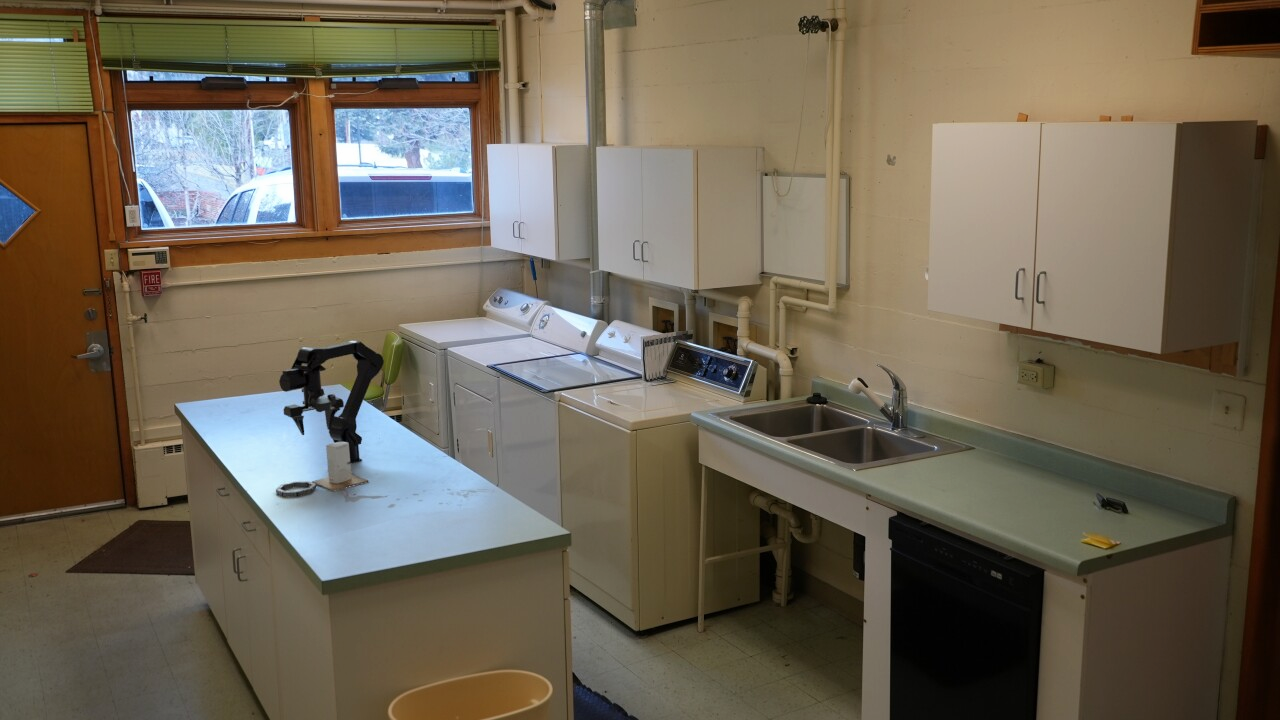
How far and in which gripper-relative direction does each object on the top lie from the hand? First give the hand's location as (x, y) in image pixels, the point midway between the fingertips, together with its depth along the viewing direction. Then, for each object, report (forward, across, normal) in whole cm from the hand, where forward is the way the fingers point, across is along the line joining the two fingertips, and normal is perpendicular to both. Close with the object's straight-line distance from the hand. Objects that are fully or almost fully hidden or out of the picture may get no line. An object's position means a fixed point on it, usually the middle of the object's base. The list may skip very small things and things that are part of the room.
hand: (316, 432), depth 364 cm
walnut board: (+13, -2, -18) cm, 22 cm away
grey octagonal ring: (+13, -16, -16) cm, 26 cm away
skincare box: (+13, -2, -18) cm, 22 cm away
